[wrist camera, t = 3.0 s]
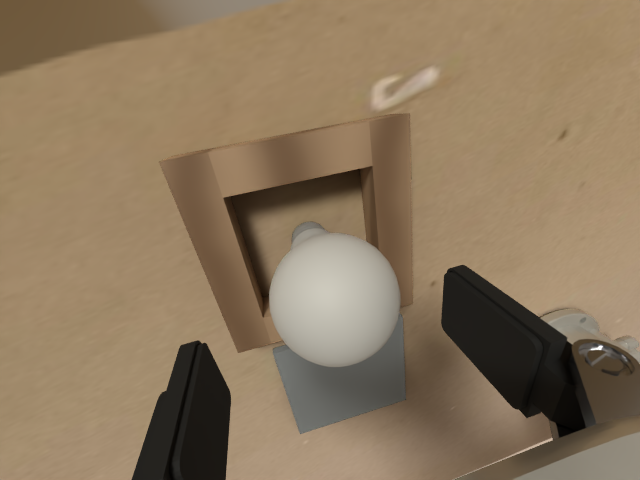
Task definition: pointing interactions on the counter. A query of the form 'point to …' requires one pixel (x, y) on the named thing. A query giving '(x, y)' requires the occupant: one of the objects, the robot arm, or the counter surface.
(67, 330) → the counter surface
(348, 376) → the rubber mat
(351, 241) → the lightbulb
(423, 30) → the counter surface
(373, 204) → the socket block
